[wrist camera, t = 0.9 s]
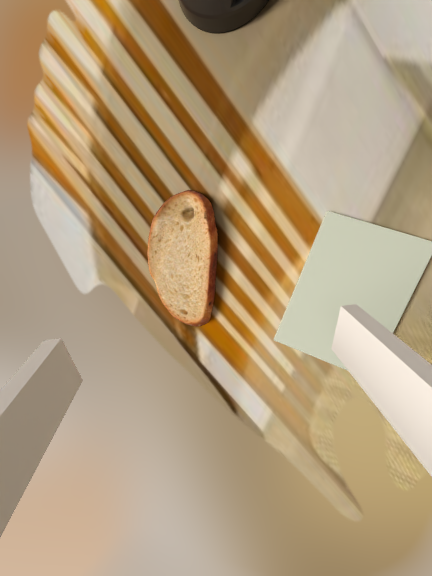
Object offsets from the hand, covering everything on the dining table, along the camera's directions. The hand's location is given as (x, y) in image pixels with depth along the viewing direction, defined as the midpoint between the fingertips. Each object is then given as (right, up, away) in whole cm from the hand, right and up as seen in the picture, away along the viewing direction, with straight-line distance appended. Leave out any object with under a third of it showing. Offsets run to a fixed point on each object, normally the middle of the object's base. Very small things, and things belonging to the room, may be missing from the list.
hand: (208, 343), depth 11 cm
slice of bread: (-4, +7, +26) cm, 27 cm away
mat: (+19, +2, +21) cm, 28 cm away
